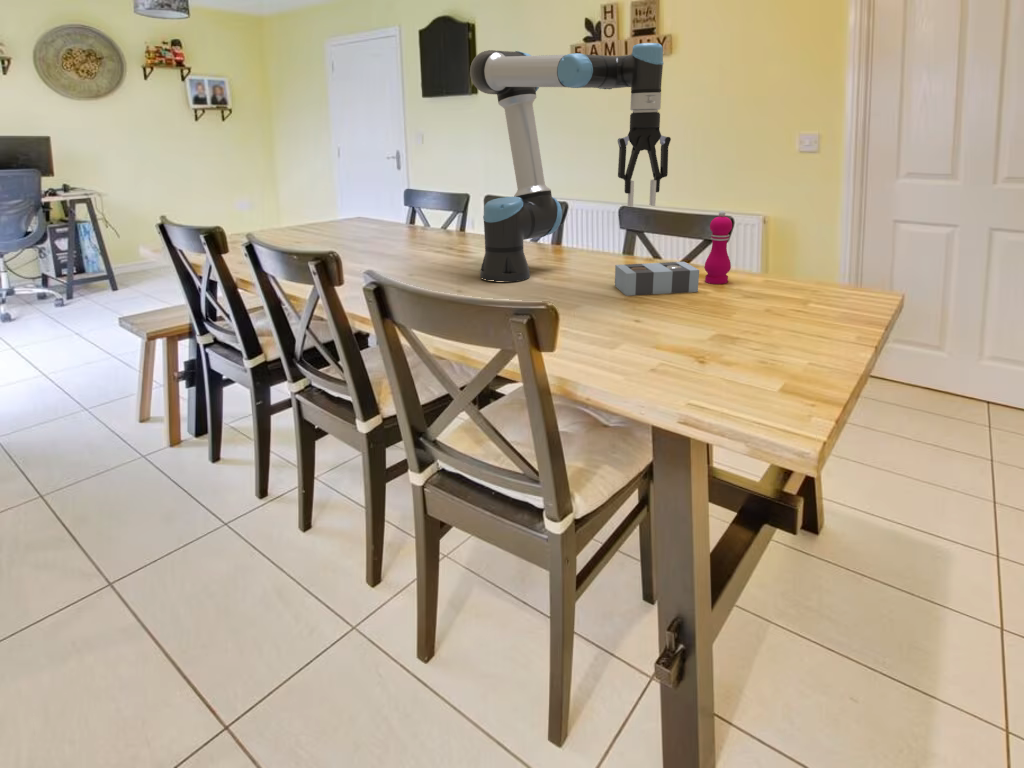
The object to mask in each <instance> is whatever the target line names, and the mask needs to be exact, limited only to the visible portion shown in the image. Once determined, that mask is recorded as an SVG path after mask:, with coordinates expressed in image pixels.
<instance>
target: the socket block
mask: <svg viewBox="0 0 1024 768" xmlns="http://www.w3.org/2000/svg"><path fill="white" fill-rule="evenodd" d="M670 265H677V266H681V268H672V269H668V268H667V266H670ZM614 267H615V268H614V286H615V287H616V288H617V290H619V291H620V292H621V293H622V294H623V295H624V296H625V297H626V296H628V297H629V296H643V295H646V296H647V295H649V296H650V295H664V294H667V295H668V294H684V293H699V283H700V282H699V281H700V280H699V279H700V269H698V268H697V267H695V266H693V265H691V264H690V263H687V262H685V261H670V262H668V261H667V262H652V263H651V262H650V263H649V262H647V263H646V262H645V263H631V264H630V263H629V264H628V263H627V264H626V263H625V264H624V263H623V264H615V266H614ZM633 267H644V268H646V270H631V268H633Z"/></svg>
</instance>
